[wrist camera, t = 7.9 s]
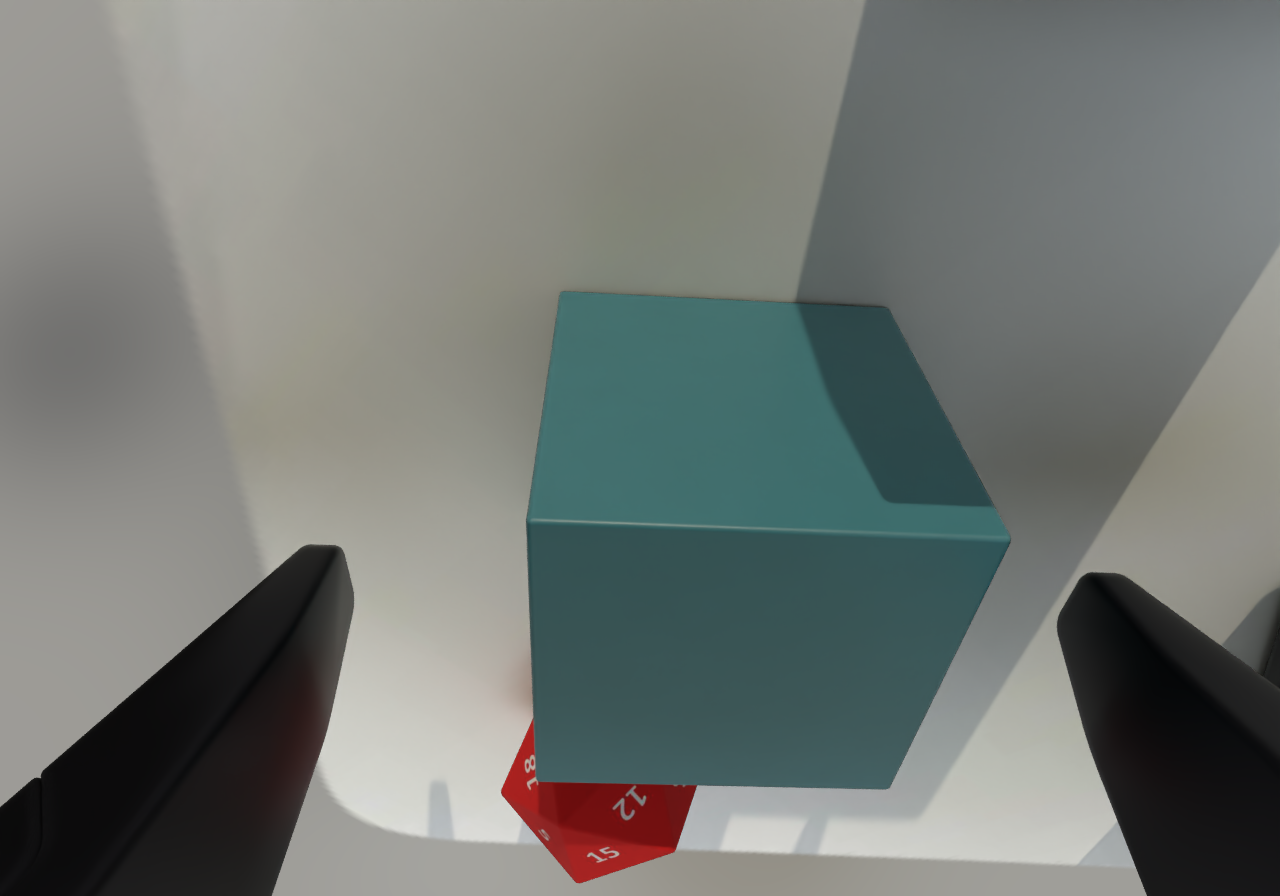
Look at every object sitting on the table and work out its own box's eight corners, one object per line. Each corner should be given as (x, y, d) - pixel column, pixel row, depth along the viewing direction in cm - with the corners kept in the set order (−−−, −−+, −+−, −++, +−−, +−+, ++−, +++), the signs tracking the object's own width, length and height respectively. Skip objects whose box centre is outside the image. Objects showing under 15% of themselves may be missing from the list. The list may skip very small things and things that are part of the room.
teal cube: (822, 540, 14) (890, 791, 10) (559, 530, 13) (534, 783, 10) (889, 306, 11) (1015, 539, 7) (560, 289, 11) (526, 520, 7)
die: (491, 796, 17) (600, 963, 14) (452, 700, 14) (573, 875, 12) (628, 698, 18) (750, 832, 16) (611, 598, 16) (749, 732, 13)
